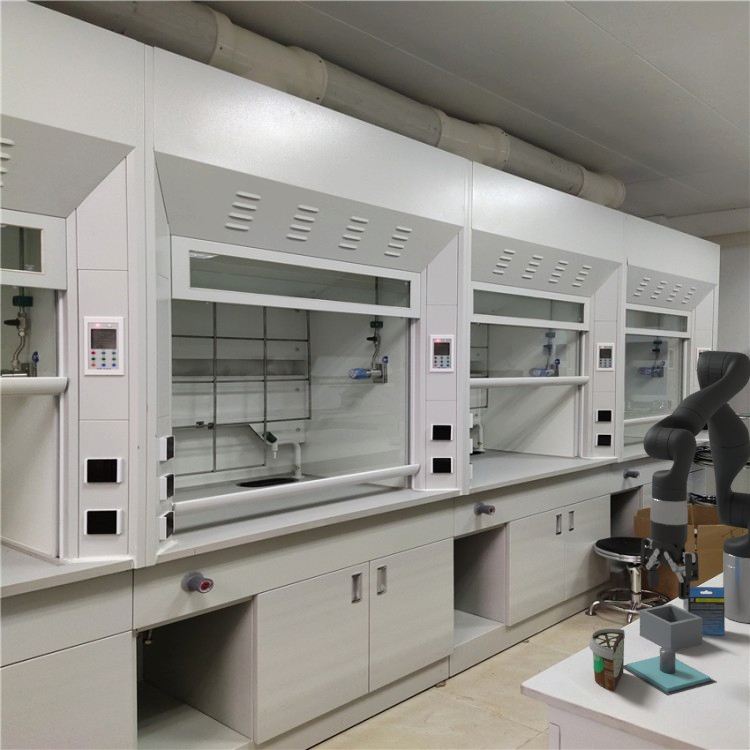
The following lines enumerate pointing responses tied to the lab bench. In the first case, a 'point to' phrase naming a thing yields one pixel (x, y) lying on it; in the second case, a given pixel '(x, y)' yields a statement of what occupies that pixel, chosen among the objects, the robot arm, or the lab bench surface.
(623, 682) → the lab bench surface
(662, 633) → the tub
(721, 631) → the label tape cartridge
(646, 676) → the lid
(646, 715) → the lab bench surface
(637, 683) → the lab bench surface
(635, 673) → the mat
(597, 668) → the food container
